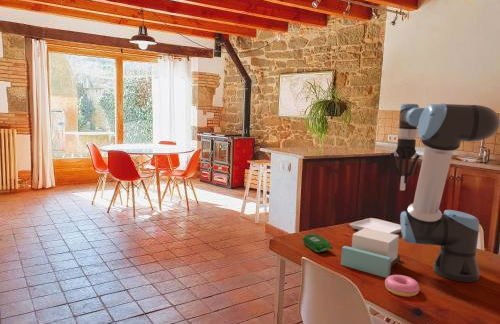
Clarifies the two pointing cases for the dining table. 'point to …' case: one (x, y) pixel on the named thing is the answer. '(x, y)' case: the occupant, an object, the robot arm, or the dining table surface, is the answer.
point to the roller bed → (395, 261)
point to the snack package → (316, 243)
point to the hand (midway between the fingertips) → (402, 189)
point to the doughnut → (402, 285)
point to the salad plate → (377, 225)
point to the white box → (376, 242)
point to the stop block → (366, 261)
